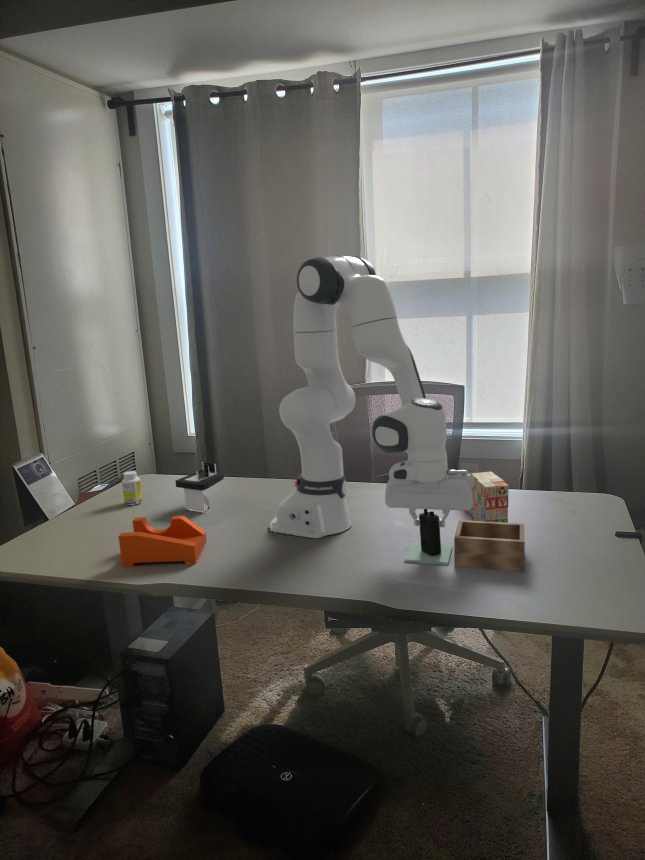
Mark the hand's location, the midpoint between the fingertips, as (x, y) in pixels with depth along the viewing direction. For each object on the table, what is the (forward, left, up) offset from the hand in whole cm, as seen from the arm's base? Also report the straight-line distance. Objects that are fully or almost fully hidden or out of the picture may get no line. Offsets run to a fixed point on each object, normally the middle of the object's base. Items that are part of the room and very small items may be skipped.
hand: (429, 525), depth 145 cm
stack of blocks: (+11, +28, -8) cm, 31 cm away
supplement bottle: (-97, +23, -8) cm, 100 cm away
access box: (+14, 0, -7) cm, 16 cm away
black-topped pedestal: (-72, +23, -8) cm, 76 cm away
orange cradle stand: (-65, -11, -8) cm, 66 cm away
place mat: (0, 0, -7) cm, 7 cm away
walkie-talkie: (0, 0, -7) cm, 7 cm away
